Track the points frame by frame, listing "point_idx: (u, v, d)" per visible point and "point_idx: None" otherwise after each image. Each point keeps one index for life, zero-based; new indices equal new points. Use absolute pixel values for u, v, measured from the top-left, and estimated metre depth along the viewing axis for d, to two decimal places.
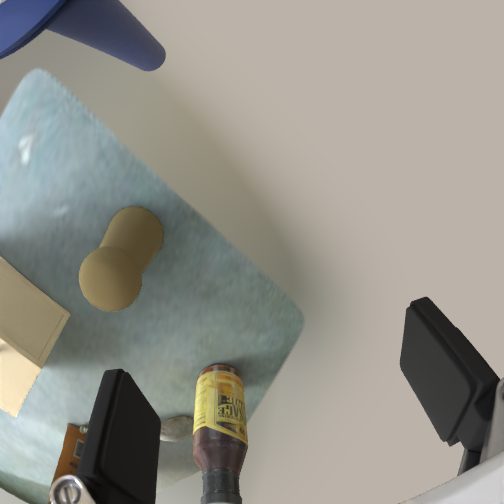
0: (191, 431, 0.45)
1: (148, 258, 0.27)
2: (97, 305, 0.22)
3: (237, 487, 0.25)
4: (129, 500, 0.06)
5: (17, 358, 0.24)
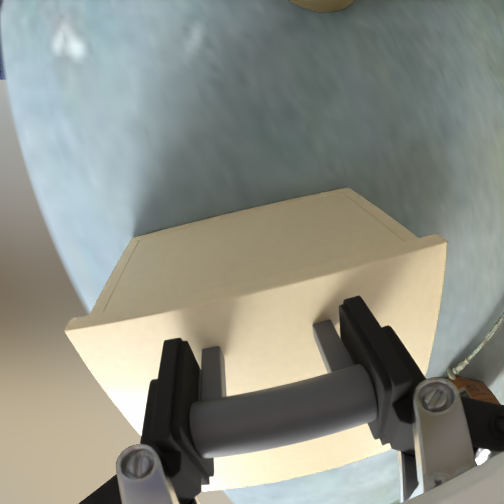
0: None
1: None
2: None
3: None
4: (194, 468, 0.07)
5: (384, 286, 0.11)
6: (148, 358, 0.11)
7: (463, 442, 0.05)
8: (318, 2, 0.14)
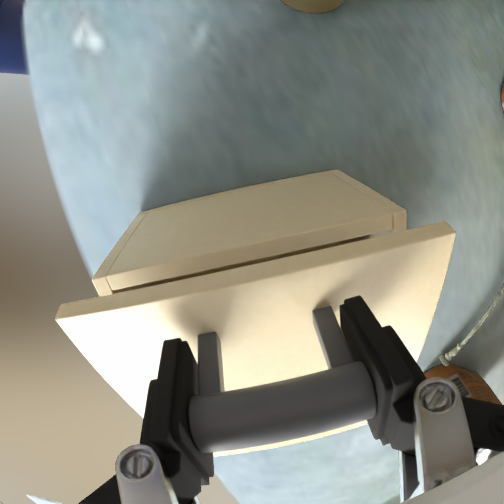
0: None
1: None
2: None
3: None
4: (194, 468, 0.07)
5: (388, 274, 0.10)
6: (142, 343, 0.11)
7: (463, 442, 0.05)
8: (309, 4, 0.16)
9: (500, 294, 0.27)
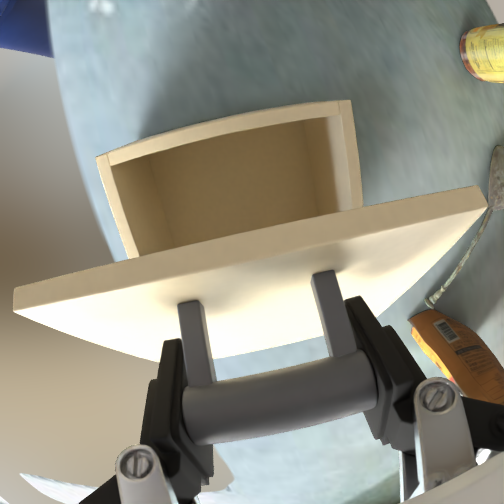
0: None
1: None
2: None
3: None
4: (193, 468, 0.07)
5: (405, 242, 0.08)
6: (115, 315, 0.09)
7: (463, 442, 0.05)
8: None
9: (479, 234, 0.29)
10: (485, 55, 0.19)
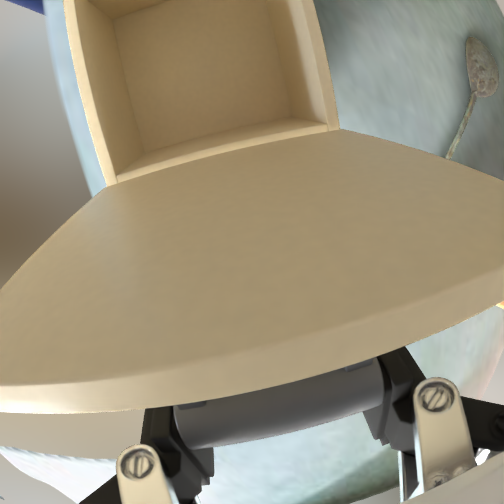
0: None
1: None
2: None
3: None
4: (194, 468, 0.07)
5: None
6: None
7: (463, 442, 0.05)
8: None
9: (466, 118, 0.26)
10: None
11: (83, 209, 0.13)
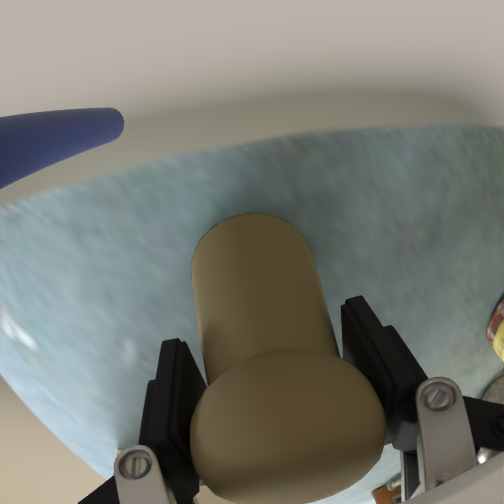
0: None
1: (316, 296, 0.11)
2: (313, 501, 0.07)
3: None
4: (192, 469, 0.07)
5: None
6: None
7: (465, 442, 0.05)
8: None
9: None
10: None
11: None
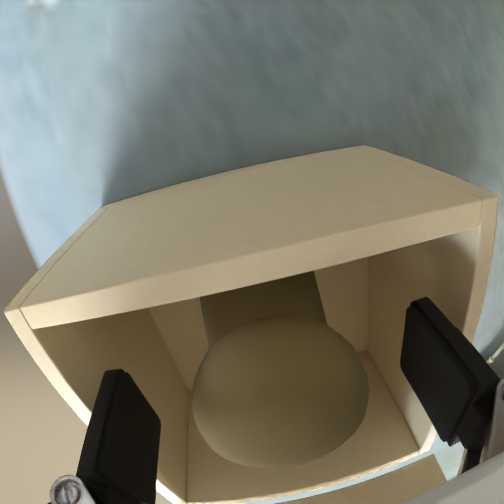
0: None
1: (307, 276, 0.12)
2: (305, 462, 0.08)
3: None
4: (129, 500, 0.06)
5: None
6: None
7: None
8: None
9: None
10: None
11: None
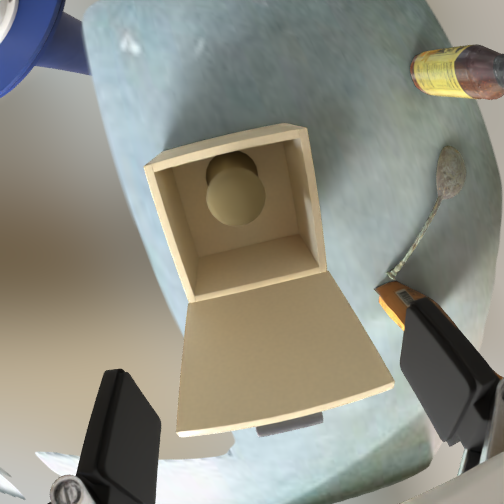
0: (462, 160, 0.37)
1: (250, 168, 0.31)
2: (244, 219, 0.27)
3: None
4: (129, 500, 0.06)
5: None
6: None
7: None
8: None
9: (430, 218, 0.40)
10: (427, 76, 0.29)
11: (189, 330, 0.28)
